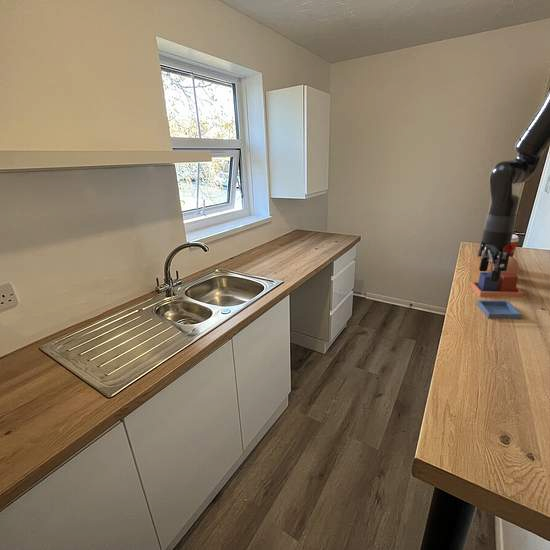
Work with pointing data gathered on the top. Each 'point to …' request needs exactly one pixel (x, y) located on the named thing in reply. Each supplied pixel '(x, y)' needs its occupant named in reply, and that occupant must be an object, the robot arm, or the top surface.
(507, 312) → the slate tray
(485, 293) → the terracotta tray
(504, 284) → the terracotta pillar
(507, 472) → the top surface
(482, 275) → the slate pillar
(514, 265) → the egg
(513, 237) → the paper cup
